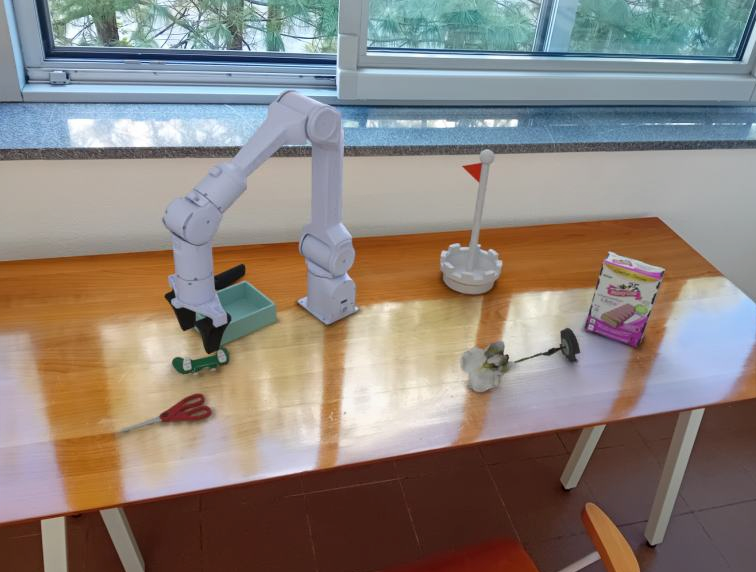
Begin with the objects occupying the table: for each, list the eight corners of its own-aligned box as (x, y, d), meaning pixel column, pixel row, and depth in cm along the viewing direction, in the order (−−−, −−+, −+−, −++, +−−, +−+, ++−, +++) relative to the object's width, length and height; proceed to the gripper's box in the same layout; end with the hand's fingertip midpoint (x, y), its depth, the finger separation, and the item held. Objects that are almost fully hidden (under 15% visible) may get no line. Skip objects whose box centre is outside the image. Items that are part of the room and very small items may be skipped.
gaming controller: (175, 380, 124) (178, 377, 119) (170, 358, 125) (173, 354, 120) (229, 368, 128) (234, 364, 123) (224, 346, 129) (230, 342, 124)
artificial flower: (583, 378, 134) (596, 348, 127) (467, 406, 129) (474, 376, 122) (563, 339, 140) (574, 308, 132) (452, 365, 135) (457, 333, 127)
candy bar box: (583, 331, 145) (601, 261, 136) (589, 318, 149) (607, 249, 140) (639, 350, 141) (661, 279, 133) (644, 336, 145) (666, 267, 137)
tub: (276, 321, 138) (276, 304, 136) (215, 348, 130) (213, 330, 128) (246, 297, 144) (245, 280, 142) (186, 321, 135) (184, 303, 133)
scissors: (213, 416, 116) (212, 411, 115) (121, 446, 109) (120, 442, 108) (201, 395, 119) (201, 390, 119) (112, 423, 112) (111, 418, 112)
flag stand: (509, 277, 159) (533, 150, 143) (480, 304, 149) (502, 170, 133) (457, 256, 164) (475, 131, 148) (426, 281, 155) (441, 149, 139)
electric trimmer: (250, 280, 149) (250, 266, 147) (186, 310, 138) (185, 296, 136) (238, 272, 151) (237, 259, 149) (174, 302, 140) (172, 288, 138)
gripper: (147, 259, 116) (155, 327, 123) (195, 301, 108) (201, 371, 115) (188, 245, 120) (193, 312, 128) (237, 285, 112) (240, 354, 119)
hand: (200, 339), depth 122 cm, fingers open, 7 cm apart
